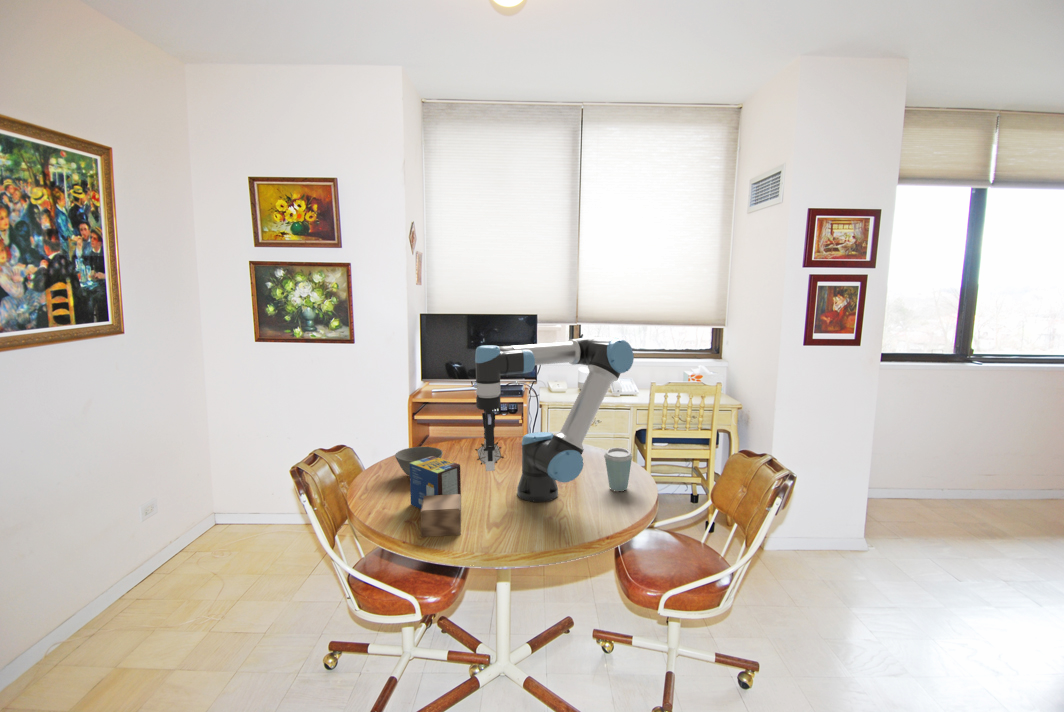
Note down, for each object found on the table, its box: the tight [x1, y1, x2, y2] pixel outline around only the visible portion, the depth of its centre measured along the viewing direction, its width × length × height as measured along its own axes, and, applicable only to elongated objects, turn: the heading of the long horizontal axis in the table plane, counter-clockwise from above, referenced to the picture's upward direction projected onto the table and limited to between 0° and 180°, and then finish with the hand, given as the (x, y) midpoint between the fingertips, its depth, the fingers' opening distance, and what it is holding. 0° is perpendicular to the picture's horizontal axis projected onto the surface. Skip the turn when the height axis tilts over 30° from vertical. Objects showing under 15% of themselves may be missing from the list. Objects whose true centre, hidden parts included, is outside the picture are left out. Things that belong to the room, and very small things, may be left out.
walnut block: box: [420, 493, 462, 538], centre depth 158 cm, size 12×12×8 cm
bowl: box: [394, 446, 444, 478], centre depth 201 cm, size 19×19×10 cm
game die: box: [474, 442, 505, 465], centre depth 156 cm, size 9×8×10 cm
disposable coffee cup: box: [603, 447, 633, 492], centre depth 189 cm, size 11×11×15 cm
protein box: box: [409, 456, 462, 510], centre depth 173 cm, size 10×15×16 cm
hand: (489, 464), depth 157 cm, fingers closed on game die, 9 cm apart
